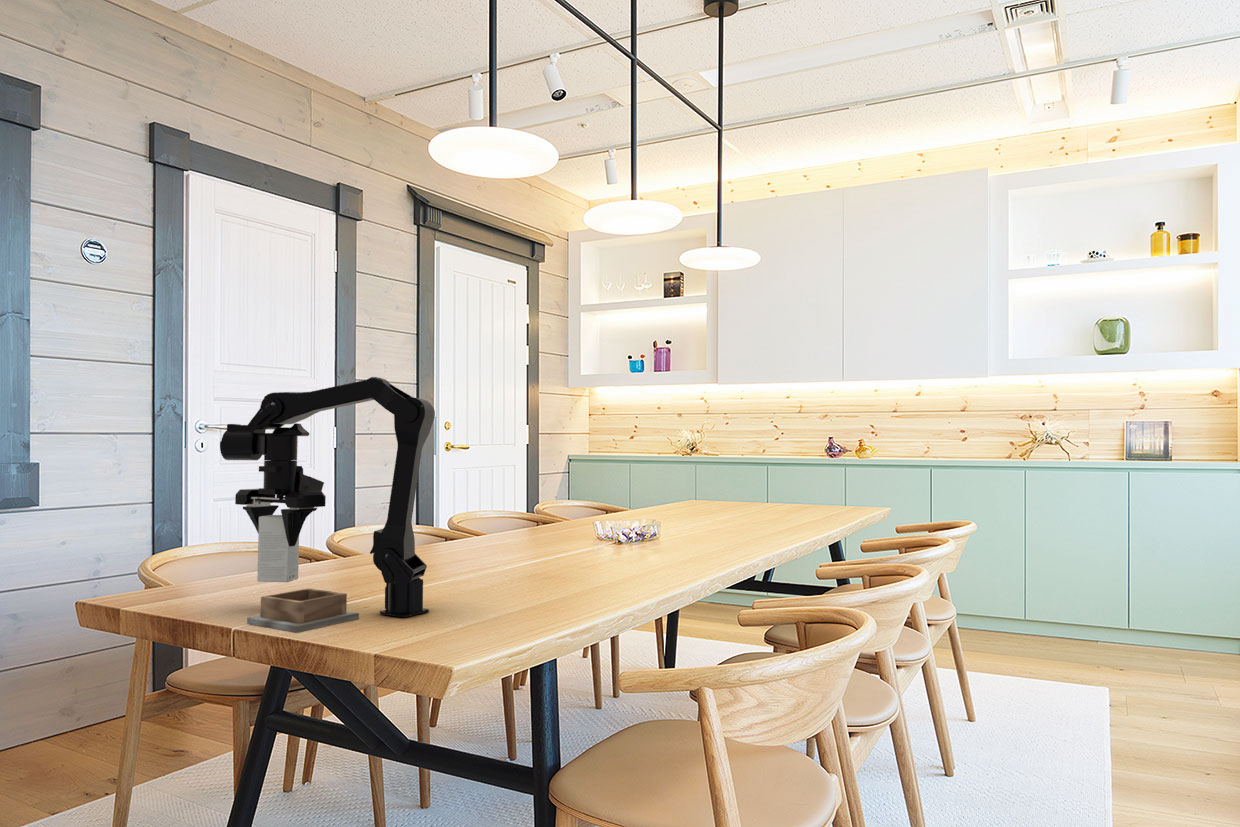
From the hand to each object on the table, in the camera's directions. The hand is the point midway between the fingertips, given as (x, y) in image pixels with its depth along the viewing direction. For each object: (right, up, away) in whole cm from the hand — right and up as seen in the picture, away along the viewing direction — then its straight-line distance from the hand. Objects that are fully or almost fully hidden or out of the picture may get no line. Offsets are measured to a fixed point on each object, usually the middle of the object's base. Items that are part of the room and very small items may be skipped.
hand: (279, 544), depth 154 cm
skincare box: (0, -7, 0) cm, 7 cm away
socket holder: (+8, -12, -9) cm, 17 cm away
